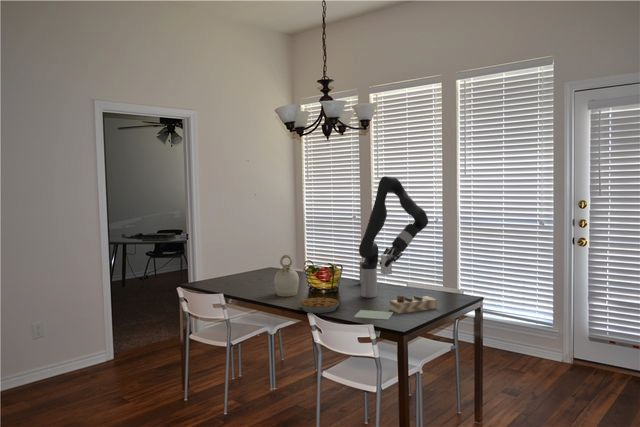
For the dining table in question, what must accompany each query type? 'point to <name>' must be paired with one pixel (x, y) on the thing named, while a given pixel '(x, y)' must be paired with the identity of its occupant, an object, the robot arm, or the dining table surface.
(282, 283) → the jug
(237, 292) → the dining table surface
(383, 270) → the lever cap
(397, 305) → the beige notched block
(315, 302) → the pie
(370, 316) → the mat
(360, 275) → the skincare box
